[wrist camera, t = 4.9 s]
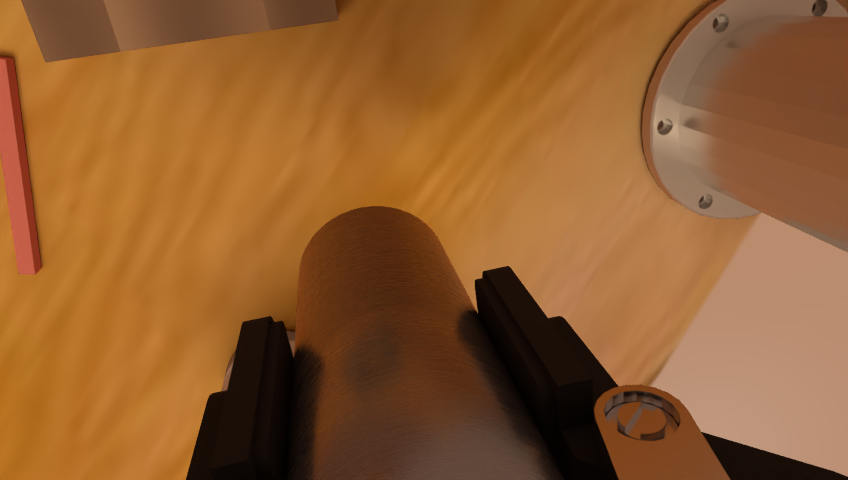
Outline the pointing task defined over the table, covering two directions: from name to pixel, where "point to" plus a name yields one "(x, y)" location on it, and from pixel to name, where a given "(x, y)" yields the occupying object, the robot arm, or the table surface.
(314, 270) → the round metal rod
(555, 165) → the table surface
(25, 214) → the stick
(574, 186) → the table surface
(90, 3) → the brown hollow tray
